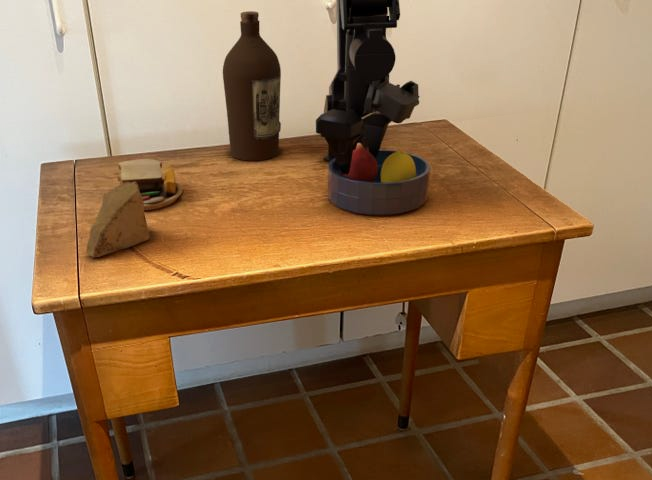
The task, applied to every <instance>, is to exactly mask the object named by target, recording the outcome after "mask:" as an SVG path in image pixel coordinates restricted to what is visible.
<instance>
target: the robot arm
mask: <svg viewBox="0 0 652 480" xmlns="http://www.w3.org/2000/svg"><path fill="white" fill-rule="evenodd" d="M400 7H401V6H400V0H336V52H337V53H336V58H337V59H336V65H337V66H336V70H337V71H336V73H335V75H334V76H333V79H332V80H331V82H330V84H329V86H328V94H326V95H325V100H324V108H323V113H321V114H320V115H319V116H318V117H317V118H315V133H316V134H318V135H320V137H321V138H324V139H325V141H326V143H327V145H328V147H327V148H328V149H327V155H326V156H324V157H323V162H328V163H330V161H331V160H332V159H334V158H335V159H336V161H337V163H338V165H339V167H340V169H341V171H342V173H343V174H349V172H350V167H351V161H352V153H353V150H355V149H356V147H357V143H361V144H362V146H363V147H364V148H365V149H366V150H369V152H370V153H371V154H372V155H373V156H374V158H376V157H377V155H378V152H379V149H381V146H382V143H383V140H384V138H385V135H386V132H387V130H388V127H389V125H390V123H391V122H393V123H395V124H402V123H403V122H404V121H405V120H409V119H410V118H411V116H412V114H413V111H414V109H415V107H417V106H419V105H420V100H419V99H420V97H421V96H420V94H419V93H420V92H419V84H418V83H416V82H415V81H414V80H408V81H407V82H405V83H403V85H401V84H393V83H391V82H390V74H391V73H392V71H393V69H394V67H395V64H396V52H395V48H394V47H393V45H392V44H391V43H390V41H389V40H388V39H387V29H396V28H397V27H398V21H400V17H401V8H400Z"/></svg>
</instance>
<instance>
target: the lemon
mask: <svg viewBox="0 0 652 480" xmlns="http://www.w3.org/2000/svg"><path fill="white" fill-rule="evenodd" d="M404 152H405V151H403V150H401V149H398V150H397V152H395V153H393V154H391V155H390V156H388V157H387V158H386V160H385V161H384V163H383V166H382V170H381V183H387V182H398V181H404V180H408V179H412V178H415V177H416V167H415V163H414V161H413V159H412V158H411V157H410V156H409V155H408V154H406V153H404Z"/></svg>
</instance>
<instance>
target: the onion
mask: <svg viewBox="0 0 652 480" xmlns="http://www.w3.org/2000/svg"><path fill="white" fill-rule="evenodd" d="M377 172H378V165H377V161H376V159H375V158H374V156H373V155H372V154H371V153H370V152H369V151H368V150H366V149H365V148H364V147H363V146H362V144H361V143H357V147H356V149H355V150H353V153H352V161H351V167H350V172H349V174H343V173H342V174H343V177H346V178H349V179H353V180H357V181H364V182H373V181H374V179H375V178H376V176H377Z"/></svg>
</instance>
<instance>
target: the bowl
mask: <svg viewBox="0 0 652 480" xmlns="http://www.w3.org/2000/svg"><path fill="white" fill-rule="evenodd" d="M368 151H369V150H368ZM397 151H398V150H395V149H385V148H380V149H379V152H378V155H377V157H376V158H375V159H376V161H377V165H378V172H377V176H376V178H375V179H374V181H373V182H364V181H357V180H353V179H349V178H346V177H343V174H342V171H341V169H340V167H339V165H338V163H337V161H336V159H335V158H334V159H332V160H331V161H330V162H328V169H327V170H328V171H327V173H328V175H327V198H328V200H329V201H330V203H332V204H333V205H334V206H336V207H338V208H340V209H342V210H344V211H348V212H351V213H354V214H358V215H359V214H360V215H365V216H392V215H399V214H405V213H408V212H410V211H414V210H415V209H418V208H420V207H421V206H422V205H423V204H425V203H426V202H427V199H428V197H429V187H430V178H431V177H430V176H431V165H430V164H431V163H430V162H429V161H428V160H426V159H425V158H424V157H422V156H421V155H417V154H414V153H411V152H408V151H403V152H404V153H406V154H408V155H409V156H410V157H411V158H412V159H413V161H414V163H415V167H416V177H415V178H412V179H408V180H404V181H398V182H387V183H381V170H382V166H383V163H384V161H385V160H386V158H387V157H388V156H390V155H391V154H393V153H395V152H397Z"/></svg>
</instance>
